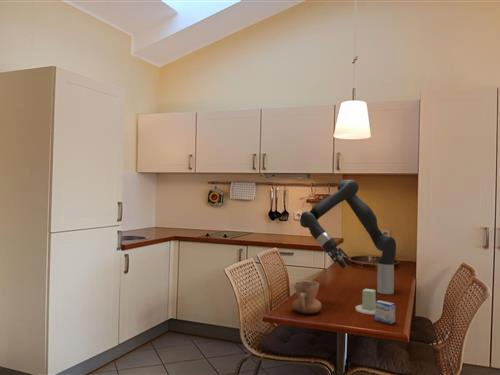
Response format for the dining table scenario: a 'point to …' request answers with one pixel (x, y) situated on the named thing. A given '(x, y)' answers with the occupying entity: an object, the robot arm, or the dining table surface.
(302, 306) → the ceramic jug
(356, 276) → the dining table surface
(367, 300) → the sage block
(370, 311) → the dish
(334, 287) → the dining table surface
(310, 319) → the dining table surface
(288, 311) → the dining table surface
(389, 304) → the medicine box
